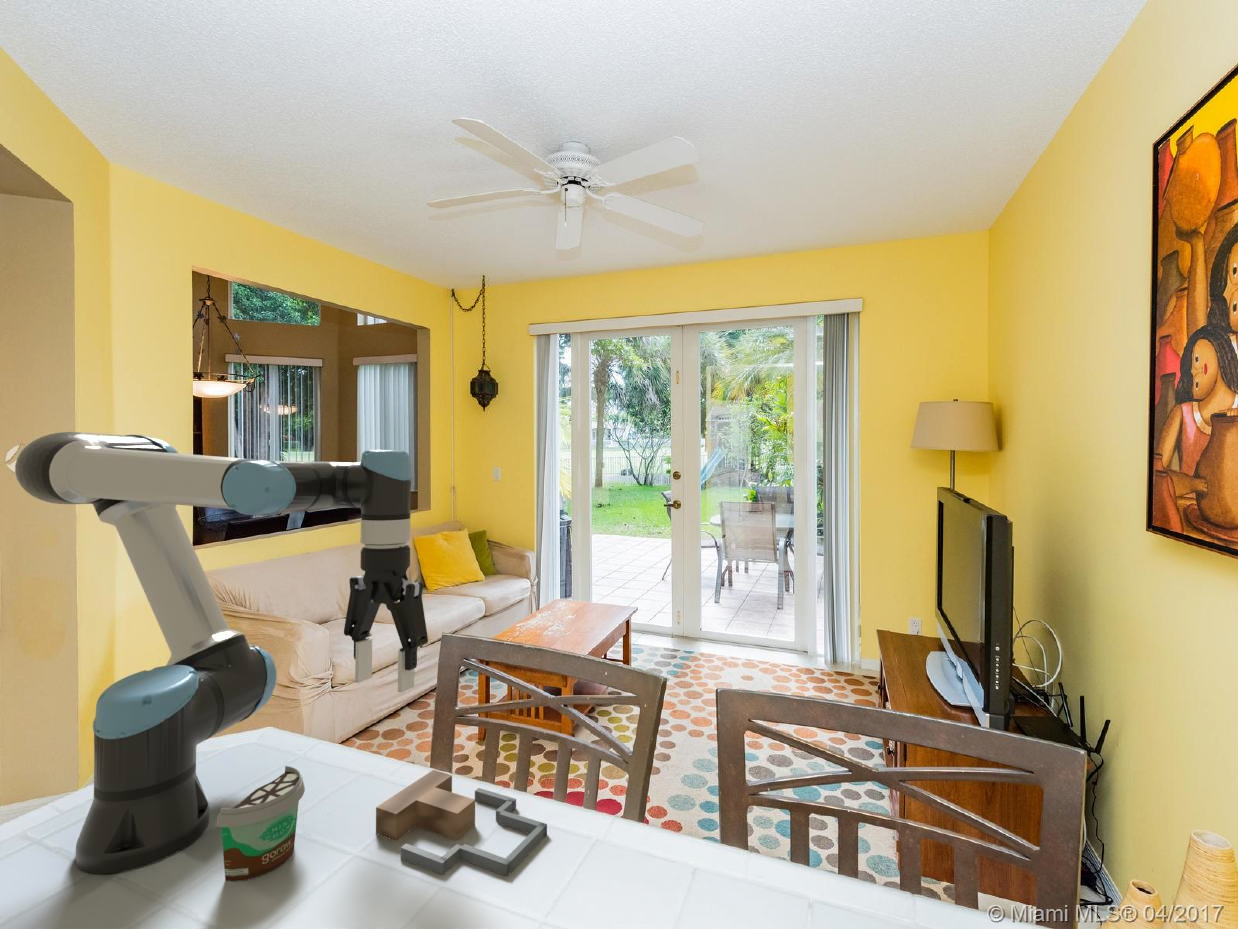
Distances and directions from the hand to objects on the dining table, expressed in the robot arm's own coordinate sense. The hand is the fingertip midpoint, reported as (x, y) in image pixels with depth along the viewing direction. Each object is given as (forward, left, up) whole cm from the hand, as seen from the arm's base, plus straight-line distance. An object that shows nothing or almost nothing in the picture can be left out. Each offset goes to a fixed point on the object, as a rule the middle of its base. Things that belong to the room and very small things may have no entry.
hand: (384, 684), depth 95 cm
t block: (+11, 0, -19) cm, 22 cm away
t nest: (+20, 0, -19) cm, 28 cm away
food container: (-3, -17, -20) cm, 26 cm away
